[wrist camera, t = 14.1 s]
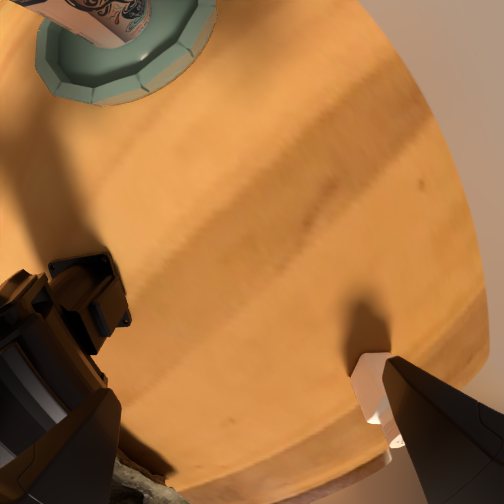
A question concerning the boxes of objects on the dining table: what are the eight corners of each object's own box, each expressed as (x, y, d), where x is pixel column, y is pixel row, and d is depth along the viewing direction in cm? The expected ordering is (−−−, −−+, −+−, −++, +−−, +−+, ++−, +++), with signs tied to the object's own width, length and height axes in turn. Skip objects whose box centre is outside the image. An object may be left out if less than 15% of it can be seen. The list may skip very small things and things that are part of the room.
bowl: (57, 128, 16) (36, 127, 13) (60, -1, 11) (45, -12, 9) (226, 82, 16) (223, 71, 13) (209, -49, 11) (206, -68, 9)
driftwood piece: (72, 365, 30) (-3, 412, 20) (102, 415, 21) (3, 474, 11) (160, 470, 39) (105, 507, 29) (203, 510, 30) (140, 554, 20)
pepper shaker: (360, 350, 24) (400, 427, 15) (393, 349, 24) (437, 418, 16) (346, 380, 25) (376, 454, 17) (378, 378, 26) (413, 445, 17)
